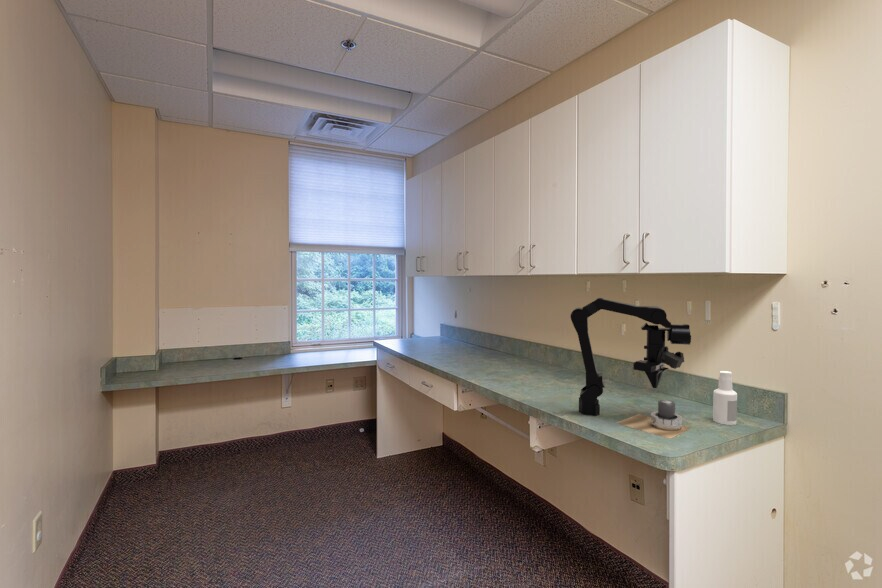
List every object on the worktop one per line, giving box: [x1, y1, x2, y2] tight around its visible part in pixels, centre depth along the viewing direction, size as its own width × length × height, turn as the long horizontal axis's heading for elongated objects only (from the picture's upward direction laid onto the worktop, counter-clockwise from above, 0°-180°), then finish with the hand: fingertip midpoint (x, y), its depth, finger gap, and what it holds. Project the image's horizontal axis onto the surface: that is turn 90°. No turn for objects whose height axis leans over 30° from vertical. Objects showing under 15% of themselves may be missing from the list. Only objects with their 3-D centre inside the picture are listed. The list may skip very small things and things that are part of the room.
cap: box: [657, 399, 676, 419], centre depth 144 cm, size 5×5×6 cm
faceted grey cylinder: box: [650, 410, 683, 431], centre depth 144 cm, size 9×9×4 cm
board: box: [616, 413, 692, 440], centre depth 145 cm, size 18×15×1 cm
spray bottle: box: [712, 370, 738, 426], centre depth 148 cm, size 7×7×18 cm
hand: (654, 387), depth 150 cm, fingers closed
